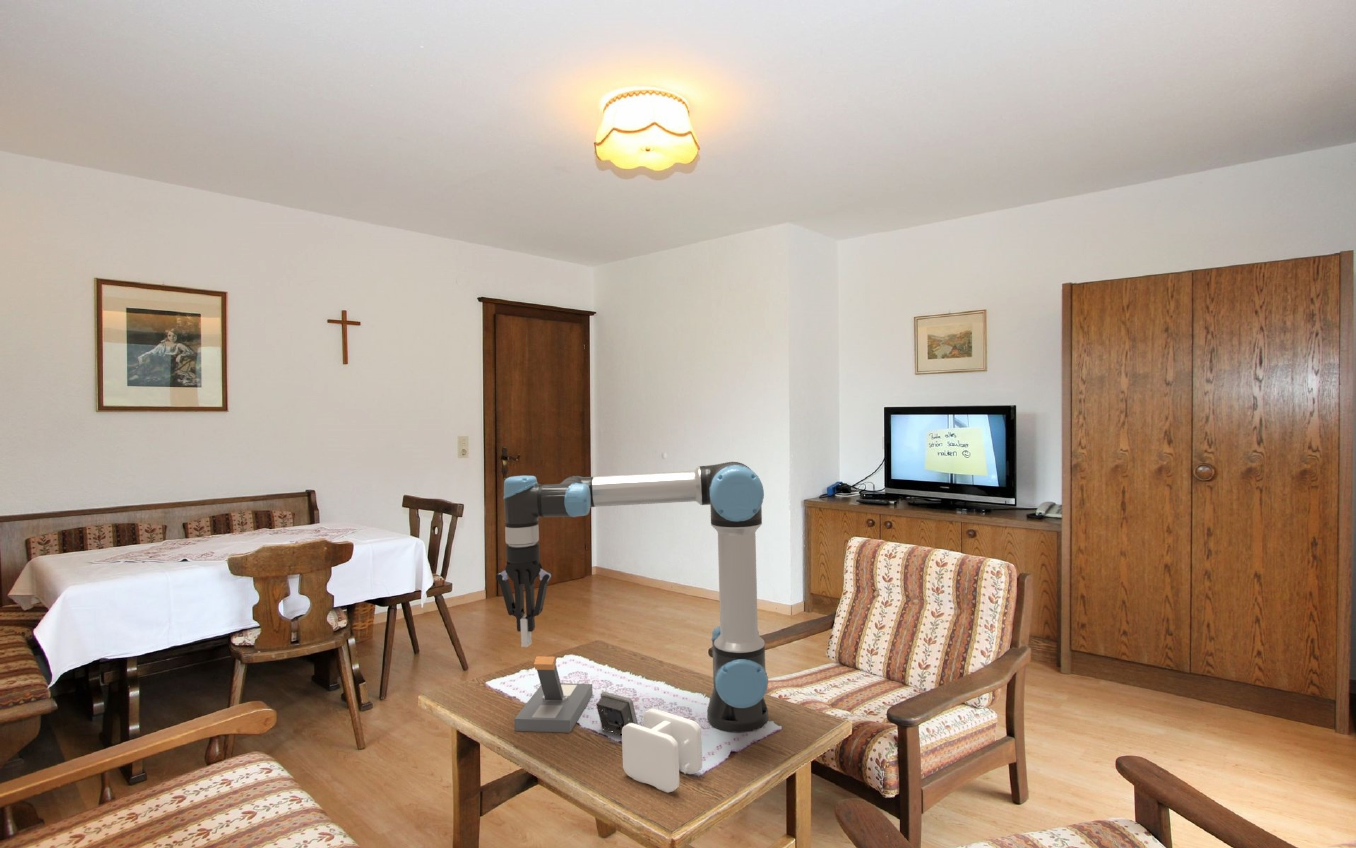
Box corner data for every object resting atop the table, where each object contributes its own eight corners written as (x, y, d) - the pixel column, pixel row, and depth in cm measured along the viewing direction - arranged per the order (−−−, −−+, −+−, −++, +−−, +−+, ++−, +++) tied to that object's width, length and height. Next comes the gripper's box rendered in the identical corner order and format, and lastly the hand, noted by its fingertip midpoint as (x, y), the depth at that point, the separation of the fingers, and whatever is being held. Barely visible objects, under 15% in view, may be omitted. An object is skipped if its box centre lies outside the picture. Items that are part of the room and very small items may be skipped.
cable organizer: (619, 776, 150) (617, 722, 150) (650, 755, 158) (649, 704, 158) (675, 798, 141) (673, 741, 141) (705, 775, 149) (703, 721, 149)
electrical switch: (640, 731, 170) (636, 695, 169) (627, 743, 166) (623, 705, 164) (609, 723, 175) (605, 688, 174) (596, 733, 171) (592, 697, 170)
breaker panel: (570, 732, 170) (569, 716, 170) (514, 731, 172) (514, 714, 172) (592, 694, 192) (592, 680, 192) (543, 693, 194) (542, 679, 194)
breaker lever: (562, 701, 180) (552, 664, 173) (544, 701, 181) (533, 664, 173) (564, 693, 182) (554, 656, 175) (546, 693, 183) (536, 656, 175)
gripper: (555, 540, 164) (558, 639, 165) (501, 540, 166) (505, 639, 166) (544, 547, 156) (548, 651, 157) (488, 547, 158) (493, 650, 159)
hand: (526, 644), depth 162 cm, fingers closed
